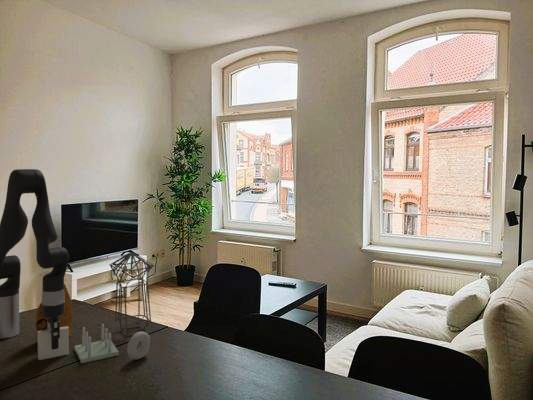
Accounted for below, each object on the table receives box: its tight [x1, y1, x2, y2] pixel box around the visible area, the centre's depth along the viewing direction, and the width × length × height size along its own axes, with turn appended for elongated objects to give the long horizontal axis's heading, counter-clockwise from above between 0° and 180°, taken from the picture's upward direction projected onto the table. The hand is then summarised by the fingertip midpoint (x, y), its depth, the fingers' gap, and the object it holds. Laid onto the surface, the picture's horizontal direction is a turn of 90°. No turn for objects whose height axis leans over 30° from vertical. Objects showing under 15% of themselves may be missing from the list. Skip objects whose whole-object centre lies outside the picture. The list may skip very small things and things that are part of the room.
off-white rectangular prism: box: [37, 326, 70, 361], centre depth 150 cm, size 2×10×10 cm, turn 124°
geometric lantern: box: [109, 252, 155, 337], centre depth 174 cm, size 16×16×35 cm
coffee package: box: [35, 283, 73, 344], centre depth 165 cm, size 10×12×22 cm
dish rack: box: [74, 323, 120, 364], centre depth 154 cm, size 14×13×8 cm
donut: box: [126, 330, 151, 361], centre depth 149 cm, size 10×4×10 cm, turn 150°
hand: (53, 344), depth 150 cm, fingers open, 8 cm apart
